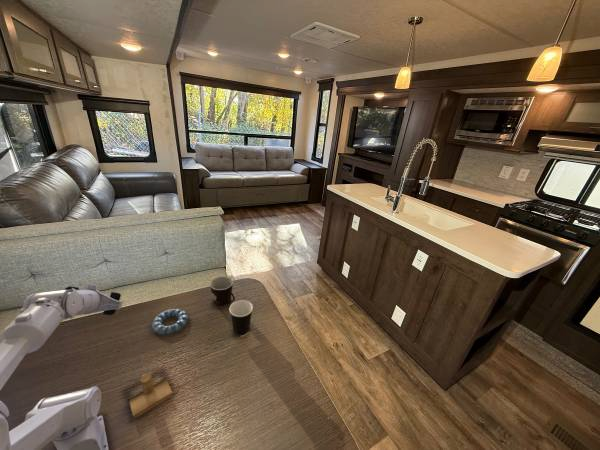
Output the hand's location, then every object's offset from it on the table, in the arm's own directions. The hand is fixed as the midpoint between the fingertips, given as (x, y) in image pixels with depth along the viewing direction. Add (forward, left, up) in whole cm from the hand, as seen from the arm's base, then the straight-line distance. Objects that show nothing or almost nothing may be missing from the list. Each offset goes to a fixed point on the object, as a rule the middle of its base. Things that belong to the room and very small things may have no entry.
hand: (101, 299), depth 69 cm
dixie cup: (-17, -34, -20) cm, 43 cm away
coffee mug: (-1, -35, -20) cm, 41 cm away
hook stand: (-20, -4, -20) cm, 29 cm away
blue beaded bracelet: (+1, -16, -19) cm, 25 cm away
